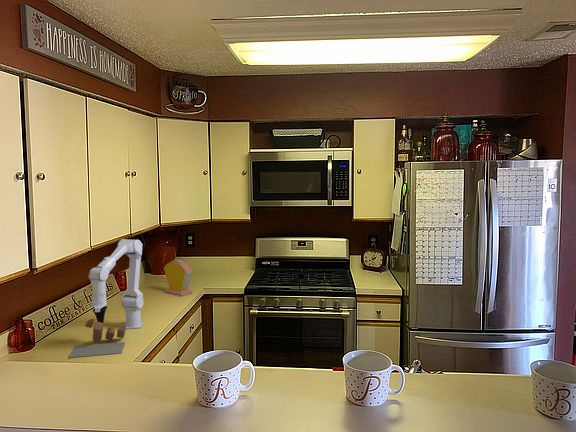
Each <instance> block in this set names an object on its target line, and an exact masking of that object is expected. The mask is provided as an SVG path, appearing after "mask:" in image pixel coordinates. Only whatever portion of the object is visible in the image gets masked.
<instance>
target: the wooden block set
mask: <svg viewBox="0 0 576 432" xmlns="http://www.w3.org/2000/svg"><path fill="white" fill-rule="evenodd" d="M84 327H86V328H90V329H92V328H93V330H92V341H93V342H95V343H99V342H101V341H102V339H103V331H104V330H103V329H104V328H103V327H104V323H103V324H102V323H101V322H95V318H92V319H89V320H87V321H86V324H85V325H84ZM115 330H116V328H115V327H113V326H110V327H108V328H107V330H106V332H105V338H104V339H105V340H109V341H113V339H114V337H115ZM126 330H127V329H126V326H125V324H124V325H123V324H119V326H118V328H117V331H116V338H120V339H124V337H125V335H126Z"/></svg>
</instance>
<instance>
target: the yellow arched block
mask: <svg viewBox="0 0 576 432" xmlns="http://www.w3.org/2000/svg"><path fill="white" fill-rule="evenodd" d="M163 270H164V273H165V277H166V281H167V285H168V289H164V293H165V294H170V295H173V294H174V295H175V296H178V295H179V297H184V295H185V296H188V294H189V295H192V294H193V290H191V289H190V290H189V286H190V280H191V276H192V271H193V269H192V267H191V266H189V264H188V263H186V262H185V261H184V260H182V259H174V260H171V261H170V262H168V263H166V265H164V267H163ZM174 295H173V296H174Z"/></svg>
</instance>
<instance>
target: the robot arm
mask: <svg viewBox="0 0 576 432" xmlns="http://www.w3.org/2000/svg"><path fill="white" fill-rule="evenodd" d="M124 255H126V256H127V257H128V259H129V265H128V278H127V289H126V290H125V291H124V292H123V293H122V297H121V300H120V304H121V307H122V308H123V310H124V311H125V313H124V314H125V324H124V326H126V330H128V329H129V330H130V329H141V328H142V326H143V321H142V318H141V317H142V316H141V309H142V308H143V306H144V303H145V300H144V293H143V292H141V290H139V287H140V276H141V275H140V274H141V263H142V262H141V261H142V255H143V243H142V242H141V240H139V239H125V238H122V239H120V240H119V242H118V243H117V247H116V248H115V250H114V251H113V252H112V253H111V255H109V256H105V257H104V258H103V259H102V261H101V262H99V264H97V266H96V267H92V268H91V269H90V270H89V272H88V279H89V280H90V284H91V287H92V288H91V289H92V292H91V293H92V303H90V304H89V305H90V307H93V309H92V312H93V314H94V315H95V317H96V321H97V322H101V323H102V324H103V325H104V321H105V315H106V312H107V309H108V306H107V305H108V302H107V287H106V285H107V284H106V283H107V282H106V281H107V279H108V277H109V274H110V273H111V271H112V270H113V269H114V267H116V265H117V263H116V262H117V261H118V260H119V259H120V258H121V257H122V256H124ZM97 322H96V323H97Z"/></svg>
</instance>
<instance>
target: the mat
mask: <svg viewBox="0 0 576 432" xmlns="http://www.w3.org/2000/svg"><path fill="white" fill-rule="evenodd" d="M125 343H126V342H125V341H123V342H122V341H120V342H110V343H98V344H97V343H95V344H87V345H86V344H85V345H76V346H74V348H73V349H72V351H71V352H70V354H69V356H68V359H74V358H77V359H78V358H86V357H96V356H107V355H108V356H109V355H120V354H121V355H122V354H123V353H122V352H123V351H124V347H125Z"/></svg>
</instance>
